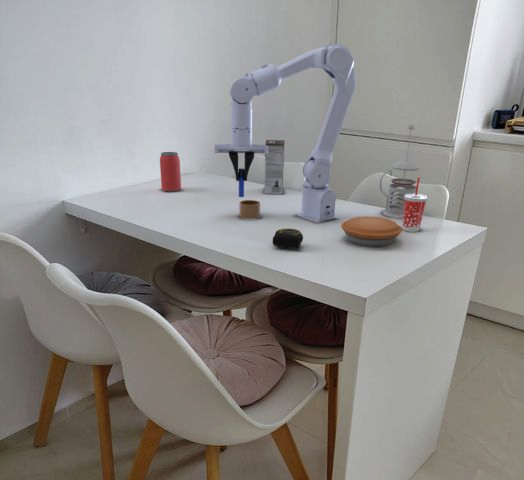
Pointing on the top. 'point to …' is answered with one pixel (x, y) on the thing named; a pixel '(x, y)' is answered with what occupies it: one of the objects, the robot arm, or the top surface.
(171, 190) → the beer can
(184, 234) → the top surface
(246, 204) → the brown wooden bowl
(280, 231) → the tape measure
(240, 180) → the marker
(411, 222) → the beverage cup
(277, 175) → the coffee box
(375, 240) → the pie
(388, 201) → the french press
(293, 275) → the top surface
